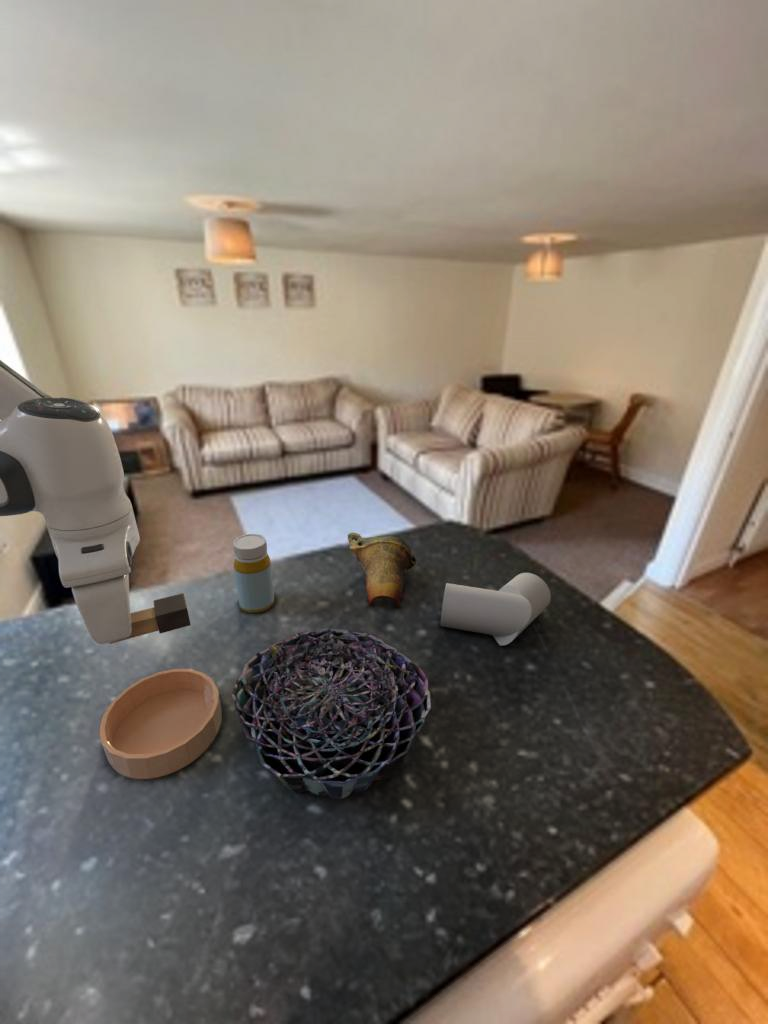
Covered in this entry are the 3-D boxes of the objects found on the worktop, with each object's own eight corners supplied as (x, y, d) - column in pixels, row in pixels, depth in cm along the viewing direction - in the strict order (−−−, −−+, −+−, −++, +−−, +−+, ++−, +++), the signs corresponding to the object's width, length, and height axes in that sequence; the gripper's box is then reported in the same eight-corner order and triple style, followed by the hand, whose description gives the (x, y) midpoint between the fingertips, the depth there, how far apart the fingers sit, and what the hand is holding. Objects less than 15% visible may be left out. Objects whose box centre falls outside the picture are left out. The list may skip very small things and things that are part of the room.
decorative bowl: (328, 883, 50) (330, 836, 46) (199, 728, 65) (191, 681, 61) (452, 734, 68) (463, 689, 63) (328, 639, 83) (330, 597, 78)
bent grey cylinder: (507, 669, 76) (558, 616, 89) (504, 615, 73) (556, 568, 86) (426, 638, 88) (481, 595, 102) (420, 590, 85) (478, 553, 99)
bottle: (277, 610, 91) (270, 546, 84) (241, 618, 89) (232, 553, 82) (271, 591, 97) (265, 530, 90) (238, 598, 94) (229, 535, 88)
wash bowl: (84, 781, 58) (74, 758, 56) (139, 689, 72) (133, 668, 70) (201, 781, 59) (196, 758, 57) (234, 689, 73) (231, 669, 71)
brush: (109, 648, 59) (103, 630, 57) (109, 629, 62) (104, 612, 61) (190, 625, 63) (187, 608, 62) (187, 609, 66) (183, 592, 65)
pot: (348, 578, 86) (356, 513, 99) (332, 609, 94) (341, 545, 107) (429, 599, 90) (427, 534, 103) (408, 627, 97) (408, 563, 110)
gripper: (72, 507, 61) (98, 590, 67) (57, 584, 45) (93, 685, 51) (124, 499, 64) (145, 580, 70) (127, 569, 48) (153, 666, 54)
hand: (123, 625), depth 60 cm, fingers closed on brush, 2 cm apart
